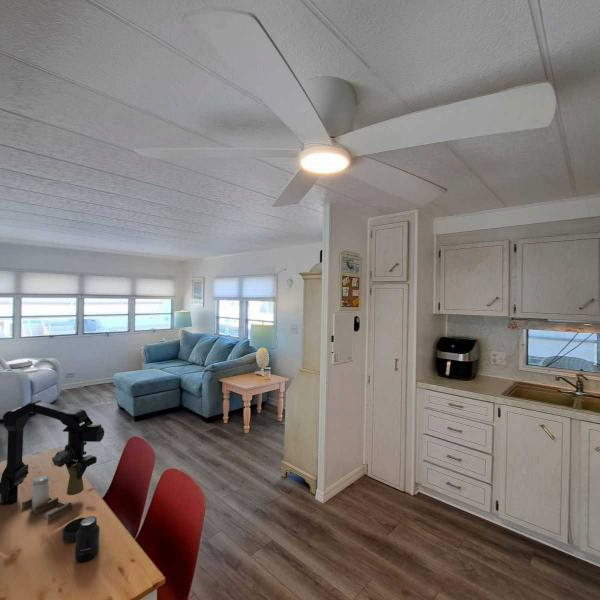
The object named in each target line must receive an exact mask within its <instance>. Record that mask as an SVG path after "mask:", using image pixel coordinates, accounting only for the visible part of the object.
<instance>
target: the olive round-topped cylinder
mask: <svg viewBox="0 0 600 600" xmlns="http://www.w3.org/2000/svg"><path fill="white" fill-rule="evenodd" d="M75 465H77V464H74V465H72V466H70V467H69V469H68V470H67V472H68V474H70V475H69V477H68V483H67V489H66V495H67V496H74V495H78V494H80V493H82V492H83V491H84V489H85V487H84V480H83V477H82V478H81V479H79V480H78V478H77V469H76V468H75V467H73V466H75Z"/></svg>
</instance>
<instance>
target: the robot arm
mask: <svg viewBox="0 0 600 600" xmlns="http://www.w3.org/2000/svg"><path fill="white" fill-rule="evenodd" d="M32 413H35V414H39V415H41V416H45V417H48V418H51V419H55V420H58V421H60V423H62V425H63V426H66V427H65V428H64V429H63V430H62V432H63V433H67V444H65V446H64V449H62V450H60V451H57V453H55V455H54V456H53V457H52V458H51V460H52V463H53V465H54V466H56V467H57V468H62V467H63V466H66V467H65V468H66V469H67V471H68V469H69V467H70V466H72V465H74V464H77V465H75V466H73V467H75V468H76V469H77V478H78V480H79V479H81V478H82V479H83V476H84V473H85V471H86V469H88V467H90V466H91V465H92V466H93V465H94V464H97V461H98V457H97V456H95V455H92V454H88V455H87V451H86V450H85V446H86V445H87V443H90V442H91V443H100V442H101V441H103V439H104V436H105V430H104V427H102V424H94V422H93V421H92V420H91V418H90V417H89V416H88V414H87V412H86V410H84V409H81V408H80V409H79V408H64V407H61V406H58V405H54V404H52V403H48V402H46V401H42V400H41V399H36V400H33V401H30V402H29V403H27V404H25V405H23V406H18V407H16V408H14V409H11V410H9V411H6V412H5V413H4V414H3V416H2V421H3V422H2V424H3V427H4V428H5V429H6V430H7V452H6V453H7V454H6V455H7V457H6V465H5V468H4V469H3V472H2V473H1V477H0V505H1V506H9V505H10V506H11V505H13V504H15V503H17V502H18V498H19V496H18V495H19V491H18V489H19V485H21V484H22V483H24V480H25V479H26V478H27V476H28V474H29V464H25V463H24V461H23V455H24V454H23V450H24V448H23V447H24V430H25V426H26V424H27V423H28V421H29V417H30V415H31V414H32ZM68 474H69V473H68ZM69 476H70V474H69Z"/></svg>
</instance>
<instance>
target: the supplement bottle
mask: <svg viewBox="0 0 600 600" xmlns="http://www.w3.org/2000/svg"><path fill="white" fill-rule="evenodd" d="M83 518H84V519H83V520H82V521H81V522H80V529H79V530H78V531H77V533H76V542H75V549H74V550H75V553H74V557H75V558H74V559H75V562H77V563H78V564H85V563H89V562H91V561H93V560H94V559H95V558H96V557H97V556H98V554H99V551H100V531H101V530H100V529H101V528H100V525H99V524H98V521H97V518H98V517H96V516H93V515H92V516H91V515H90V516H87V517H83Z"/></svg>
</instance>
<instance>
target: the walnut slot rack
mask: <svg viewBox="0 0 600 600" xmlns="http://www.w3.org/2000/svg"><path fill="white" fill-rule="evenodd" d="M21 503H22V504H21V508H22V509H23V510H25V511H27V512H28V513H31V514H34V515H35V516H38V517H40V518H42V519H44V520H46V521H48V522H52V521H54V520H56V519H57V518H59V517H60V516H62V515H65V514H66V513H67V512H69V511H71V510H72V502H68V503H67V502H64V501H62V500H59V497H57V496H56V497H53V496H50V495H49V501H48V502H46V503H44V504H42V505H40V506H38V507H36V508H35V510H32V497H31V498H28V499H26V500H24V501H22V502H21Z"/></svg>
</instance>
